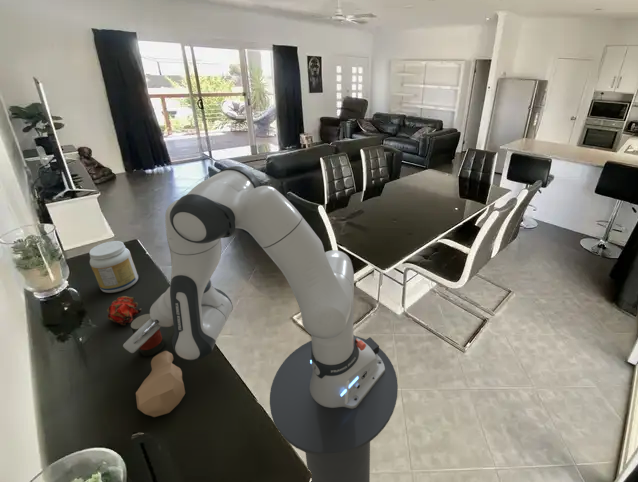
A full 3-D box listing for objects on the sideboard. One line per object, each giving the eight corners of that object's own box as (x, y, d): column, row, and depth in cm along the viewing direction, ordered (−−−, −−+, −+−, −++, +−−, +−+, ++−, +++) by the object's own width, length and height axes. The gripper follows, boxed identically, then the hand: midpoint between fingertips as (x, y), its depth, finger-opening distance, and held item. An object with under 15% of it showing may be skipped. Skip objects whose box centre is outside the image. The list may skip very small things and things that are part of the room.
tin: (161, 337, 104) (152, 310, 99) (166, 348, 99) (157, 321, 95) (139, 347, 100) (128, 320, 95) (143, 359, 96) (132, 332, 91)
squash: (143, 434, 77) (124, 410, 73) (145, 379, 93) (130, 357, 90) (191, 405, 82) (176, 380, 78) (185, 356, 98) (172, 335, 94)
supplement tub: (105, 279, 130) (91, 243, 123) (141, 272, 135) (129, 237, 128) (96, 298, 120) (80, 260, 113) (135, 289, 125) (122, 252, 118)
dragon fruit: (126, 311, 116) (135, 333, 109) (98, 310, 109) (105, 334, 102) (138, 291, 116) (147, 311, 109) (111, 289, 109) (118, 311, 102)
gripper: (149, 345, 82) (127, 366, 88) (201, 293, 101) (180, 313, 106) (129, 330, 81) (107, 352, 86) (185, 280, 100) (165, 300, 105)
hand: (148, 330), depth 96 cm, fingers open, 8 cm apart
